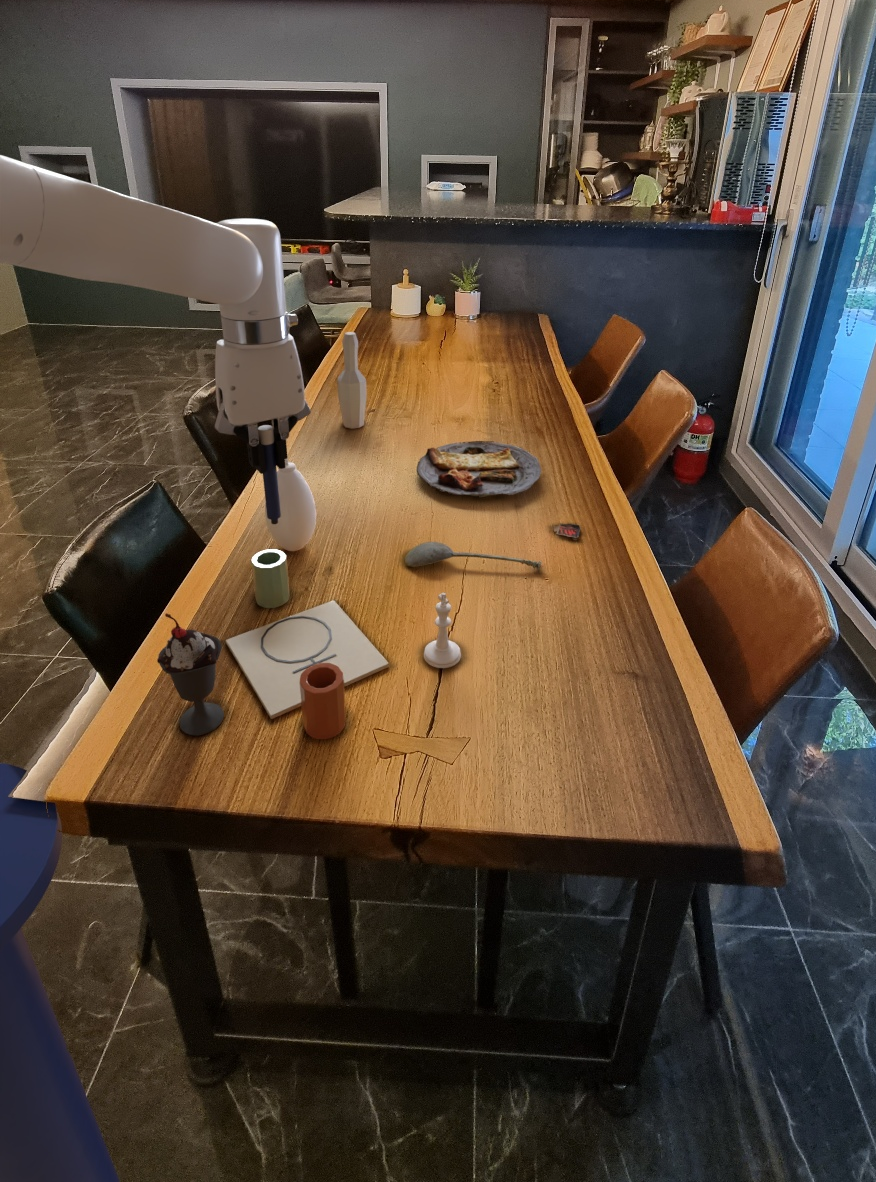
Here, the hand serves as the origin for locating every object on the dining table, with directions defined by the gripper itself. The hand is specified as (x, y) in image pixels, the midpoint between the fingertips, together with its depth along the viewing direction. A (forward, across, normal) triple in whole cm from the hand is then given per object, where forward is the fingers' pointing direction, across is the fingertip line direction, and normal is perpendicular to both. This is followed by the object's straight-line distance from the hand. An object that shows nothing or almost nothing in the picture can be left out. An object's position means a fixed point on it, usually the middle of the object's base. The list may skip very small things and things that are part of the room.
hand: (269, 466), depth 90 cm
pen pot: (+23, +4, +23) cm, 33 cm away
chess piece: (+23, -14, +21) cm, 34 cm away
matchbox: (+23, -50, +6) cm, 55 cm away
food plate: (+23, -50, -20) cm, 58 cm away
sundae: (+23, +16, +14) cm, 32 cm away
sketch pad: (+23, +1, +11) cm, 25 cm away
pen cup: (+23, 0, -3) cm, 23 cm away
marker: (+9, 0, 0) cm, 9 cm away
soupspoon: (+23, -30, +6) cm, 38 cm away
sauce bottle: (+23, -8, -14) cm, 28 cm away
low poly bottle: (+23, -40, -57) cm, 73 cm away
